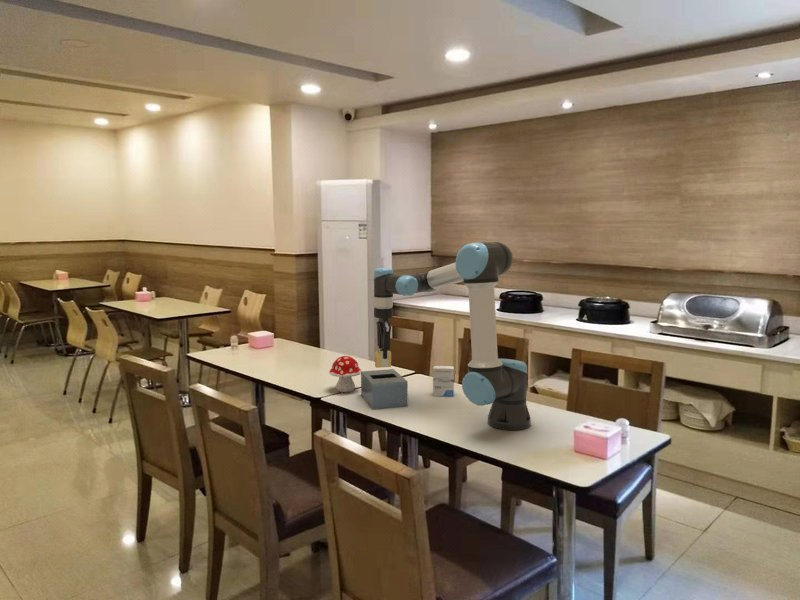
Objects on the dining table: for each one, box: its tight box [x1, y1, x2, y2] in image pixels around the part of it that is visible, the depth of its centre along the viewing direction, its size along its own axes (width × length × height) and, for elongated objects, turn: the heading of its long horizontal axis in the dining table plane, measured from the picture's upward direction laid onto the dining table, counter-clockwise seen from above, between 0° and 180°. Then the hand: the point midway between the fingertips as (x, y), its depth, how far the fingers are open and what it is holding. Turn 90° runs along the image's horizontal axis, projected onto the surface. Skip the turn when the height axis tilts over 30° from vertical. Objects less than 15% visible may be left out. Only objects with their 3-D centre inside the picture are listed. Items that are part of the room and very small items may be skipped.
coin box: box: [360, 368, 409, 410], centre depth 238 cm, size 20×14×10 cm
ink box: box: [432, 365, 455, 397], centre depth 246 cm, size 8×5×12 cm, turn 84°
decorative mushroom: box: [328, 355, 362, 393], centre depth 251 cm, size 14×14×15 cm
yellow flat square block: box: [374, 350, 392, 368], centre depth 236 cm, size 2×6×6 cm, turn 106°
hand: (383, 365), depth 237 cm, fingers closed on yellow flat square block, 2 cm apart
